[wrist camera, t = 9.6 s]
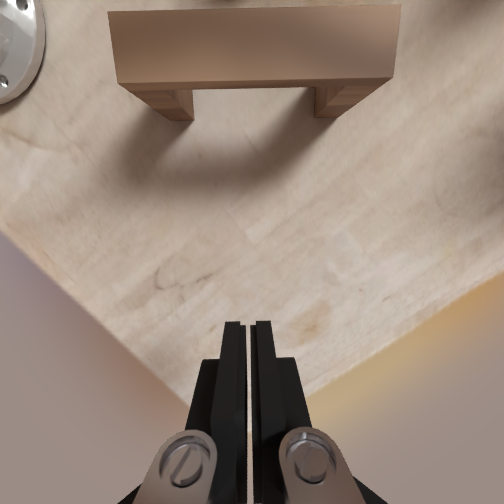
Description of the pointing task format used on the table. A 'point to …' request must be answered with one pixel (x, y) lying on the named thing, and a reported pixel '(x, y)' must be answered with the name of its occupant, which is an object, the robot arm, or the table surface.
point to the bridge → (255, 53)
